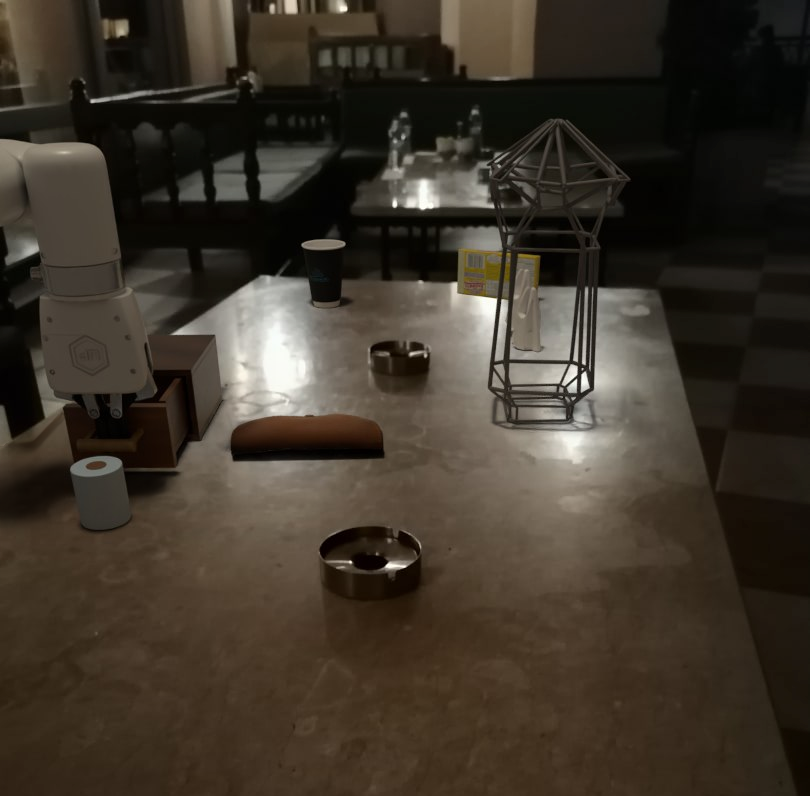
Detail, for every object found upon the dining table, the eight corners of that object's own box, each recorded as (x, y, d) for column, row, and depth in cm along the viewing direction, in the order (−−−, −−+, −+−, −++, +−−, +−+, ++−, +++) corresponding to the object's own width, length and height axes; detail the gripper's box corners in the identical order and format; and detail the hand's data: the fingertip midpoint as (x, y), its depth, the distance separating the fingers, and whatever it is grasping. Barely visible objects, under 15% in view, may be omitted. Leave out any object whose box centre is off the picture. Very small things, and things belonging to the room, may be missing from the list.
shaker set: (504, 331, 152) (506, 263, 147) (528, 330, 152) (532, 263, 147) (515, 352, 142) (518, 280, 136) (542, 351, 142) (546, 280, 136)
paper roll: (74, 530, 91) (62, 475, 88) (90, 507, 96) (79, 455, 93) (123, 530, 91) (113, 475, 88) (137, 507, 96) (128, 454, 93)
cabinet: (200, 440, 111) (191, 369, 107) (98, 441, 112) (85, 370, 107) (222, 399, 124) (215, 334, 120) (131, 400, 124) (120, 335, 120)
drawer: (164, 486, 98) (154, 423, 94) (59, 487, 98) (46, 424, 95) (200, 423, 114) (193, 367, 111) (110, 424, 114) (100, 368, 111)
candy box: (538, 300, 169) (541, 255, 165) (534, 303, 168) (536, 257, 164) (461, 290, 177) (462, 247, 173) (456, 293, 175) (457, 249, 171)
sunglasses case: (383, 426, 114) (382, 391, 108) (384, 472, 110) (384, 439, 104) (239, 429, 113) (230, 395, 107) (236, 476, 110) (227, 443, 104)
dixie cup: (343, 298, 173) (341, 238, 167) (351, 308, 166) (349, 246, 161) (302, 300, 171) (298, 240, 166) (308, 311, 164) (304, 249, 159)
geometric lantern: (479, 390, 126) (488, 114, 109) (593, 392, 125) (620, 113, 108) (478, 433, 113) (487, 124, 96) (606, 436, 111) (638, 124, 94)
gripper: (-5, 288, 87) (35, 463, 96) (150, 286, 87) (176, 461, 96) (24, 270, 94) (59, 435, 103) (168, 269, 93) (191, 434, 102)
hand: (115, 448), depth 99 cm, fingers closed
